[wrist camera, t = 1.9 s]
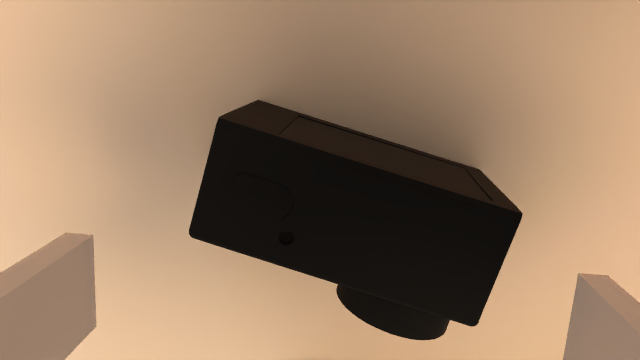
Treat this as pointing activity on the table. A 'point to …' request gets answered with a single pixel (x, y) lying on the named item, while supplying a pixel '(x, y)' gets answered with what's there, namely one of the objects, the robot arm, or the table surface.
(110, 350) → the table surface
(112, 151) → the table surface
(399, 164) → the digital camera
